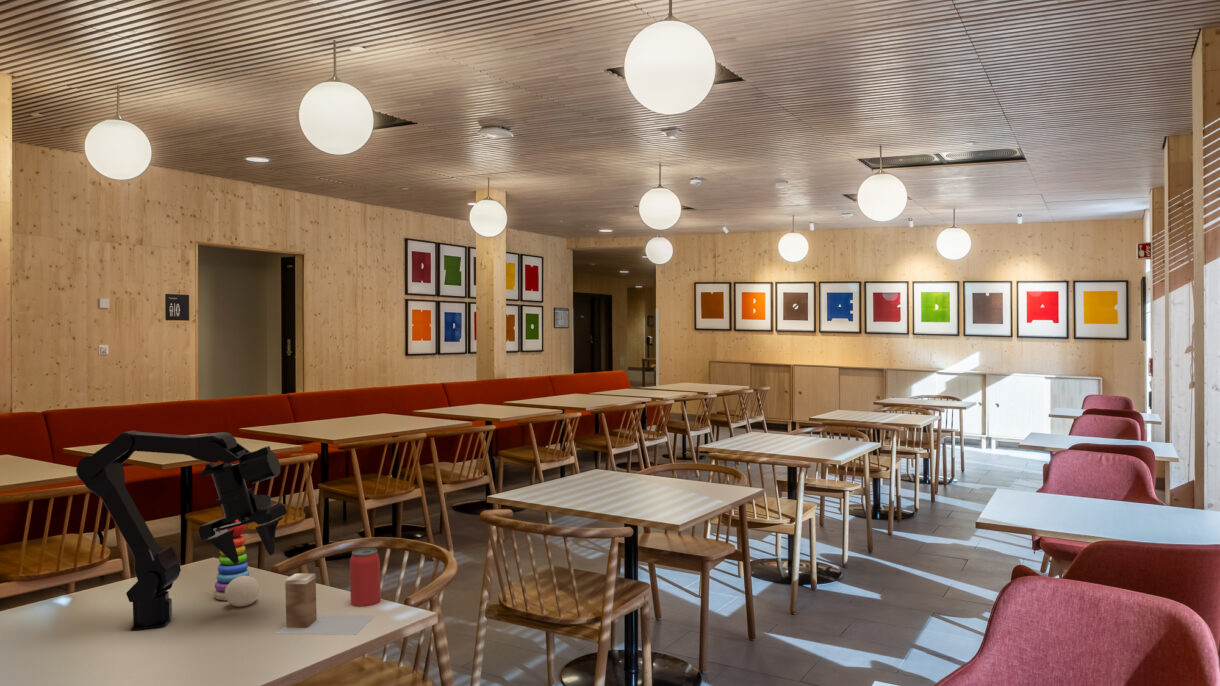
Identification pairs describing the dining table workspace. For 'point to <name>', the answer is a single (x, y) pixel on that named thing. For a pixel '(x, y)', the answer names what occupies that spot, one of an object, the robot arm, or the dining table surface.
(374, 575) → the beer can
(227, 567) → the stacking toy
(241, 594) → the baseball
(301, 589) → the walnut block
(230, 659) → the dining table surface
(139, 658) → the dining table surface
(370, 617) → the rubber mat
